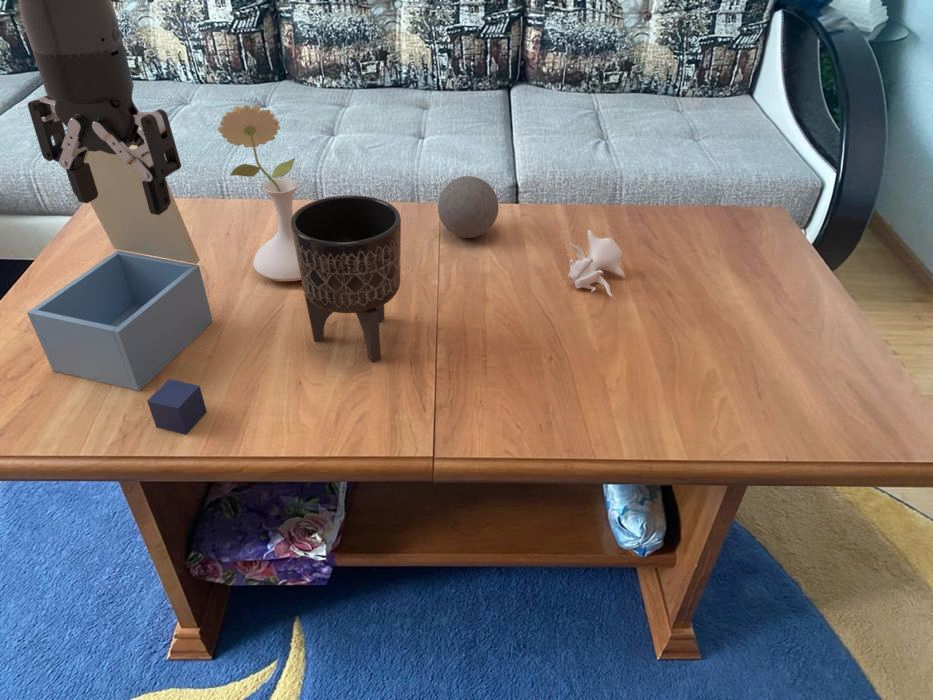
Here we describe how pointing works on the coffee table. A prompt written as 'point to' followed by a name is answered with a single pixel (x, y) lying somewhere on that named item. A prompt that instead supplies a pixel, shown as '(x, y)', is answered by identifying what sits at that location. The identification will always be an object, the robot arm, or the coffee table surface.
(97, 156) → the lid
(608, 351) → the coffee table surface
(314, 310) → the planter
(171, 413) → the block
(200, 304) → the light blue open box
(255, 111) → the flower in vase
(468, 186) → the decorative ball
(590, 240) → the figurine
